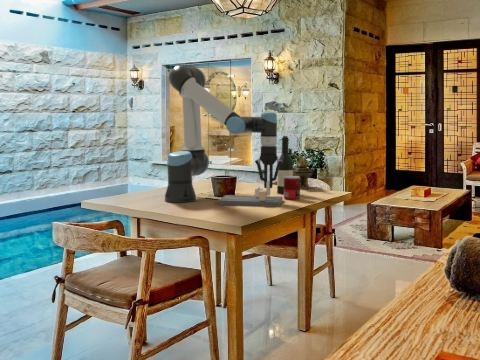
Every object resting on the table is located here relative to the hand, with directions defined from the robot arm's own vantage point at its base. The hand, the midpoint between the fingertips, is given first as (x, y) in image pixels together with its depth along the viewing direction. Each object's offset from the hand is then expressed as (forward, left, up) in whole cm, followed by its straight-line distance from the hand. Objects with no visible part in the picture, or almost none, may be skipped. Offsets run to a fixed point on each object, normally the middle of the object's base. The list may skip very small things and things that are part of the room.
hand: (268, 195), depth 247 cm
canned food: (+10, +10, -3) cm, 15 cm away
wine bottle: (+5, +27, -3) cm, 28 cm away
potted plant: (+12, +48, -3) cm, 50 cm away
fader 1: (-5, 0, -1) cm, 5 cm away
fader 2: (-1, -9, -1) cm, 9 cm away
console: (-8, -5, -3) cm, 9 cm away
